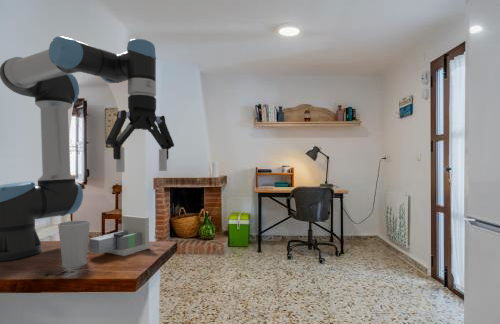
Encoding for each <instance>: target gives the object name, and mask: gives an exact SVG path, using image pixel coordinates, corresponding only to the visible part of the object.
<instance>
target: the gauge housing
mask: <svg viewBox="0 0 500 324" xmlns="http://www.w3.org/2000/svg"><path fill="white" fill-rule="evenodd" d="M121 220H122V221H121V222H122V223H121V225H122V226H121V227H122V229H121V231H116V232H112V233H110V234H116V233H118V234H123V237H117V249H114V250H111V251H107V252H106V253H107V254H113V255H118V256H122V257H125V256H128V255H132V254H135V253H138V252H141V251H145V250H147V249H150V223H149V222H150V221H149V220H150V218H149V217H147V216H146V217H145V216H136V215H127V214H124V215H122V216H121ZM108 234H109V233H107V234H103V235H102V236H104V235H108Z"/></svg>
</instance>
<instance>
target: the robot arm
mask: <svg viewBox="0 0 500 324" xmlns="http://www.w3.org/2000/svg"><path fill="white" fill-rule="evenodd" d="M48 46H49V47H48V49H46V50H42V51H40V52H38V53H37V52H36V53H34V54H31V55H28V56H25V57H21V56H13V57H11V58H9V59H7V60H5V61H3V62H2V63H1V65H0V80H1V82H2V83H3V85H5V87H7V88H8V89H9V90H11V91H12V92H13V93H16V94H17V95H21V96H25V97H30V98H34V105H36V106H37V107H38V108H39V109H40V133H41V134H40V137H41V163H42V164H41V165H42V166H41V167H42V171H41V172H42V174H41V176H40V177H39V178H38V179H37V184H35V182H34V181H32V180H31V181H21V182H13V183H11V182H10V183H6V184H1V185H0V262H5V261H6V262H7V261H13V260H21V259H24V258H29V257H31V256H34V255H37V254H39V253H41V252H42V242H41V240H40V237H39V235H38V233H37V231H36V220H39V219H46V218H54V217H64V216H67V215H72V214H74V213H76V212H77V211H78V210H79V208H80V207H81V205H82V203H83V200H84V199H83V198H84V190H83V188H82V186H81V184H80V183H78V182H76V177H74V175H72V174H71V161H70V160H71V159H70V158H71V157H70V154H71V153H70V152H71V151H70V132H69V131H70V129H69V127H70V126H69V125H70V123H69V110H70V109H71V108H73V104H75V103H76V102H77V101H78V98H79V96H80V85H79V82H78V79H77V78H76V76H75V75H74V74H75V73H83V74H88V75H91V76H96V77H100V78H101V79H102V80H103V81H105V82H106V83H108V84H120V83H124V82H126V81H127V95H128V97H127V105H128V106H127V108H128V111H126V110H125V109H122V110H118V111H117V112H116V113H117V115H116V120H115V121H114V123H113V125H112V128H111V130H110V132H109V134H108V136H107V137H106V140H105V144H106V145H109V146H110V147H111V148H112V149H113V150H112V151H113V152H112V153H113V155H112V156H113V157H112V158H113V159H114V160H115V162H116V165H115V167H116V168H115V170H116V171H115V172H116V173H125V146H124V147H123V146H122V145H124V143H125V142H126V141H127V139H128V138H130V136H131V134H133V132H134V131H135V130H143V131H148V132H150V134H151V136H153V138H154V139H155V141H156V142H157V144H158V146H159V147H160V149H158V166H159V167H158V171H160V172H166V171H168V161H167V160H169V150H170V149H171V148H174V147H175V142H174V141H173V138H172V136H171V134H170V131H169V128H168V125H167V123H166V117H165V115H159V116H157V115H156V110H157V98H155V97H156V96H157V82H156V80H157V79H156V78H157V76H156V75H157V73H156V71H157V70H156V69H157V68H156V67H157V66H156V65H157V64H156V63H157V62H156V61H157V56H156V47H155V46H156V45H154V43H153V42H152V41H149V40H146V39H142V38H132V39H130V40H128V41H127V47H126V51H125V52H122V53H114V52H111V51H108V50H105V49H102V48H99V47H96V46H93V45H90V44H86V43H84V42H81V41H78V40H76V39H74V38H69V37H65V36H61V35H59V36H55V37H54V38H53V39H52V41H51V42H50V44H49V45H48ZM127 119H128V120H129V122H128V124H127V125H126V127H125V128H124V129H123V127H124V124H125V122H126V120H127ZM122 129H123V131H122V132H121V130H122ZM120 132H121V133H120Z"/></svg>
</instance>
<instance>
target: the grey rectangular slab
mask: <svg viewBox="0 0 500 324" xmlns="http://www.w3.org/2000/svg"><path fill="white" fill-rule="evenodd" d="M107 234H108V235H106V234H103V235H104V236H103V235H99V236H96V237H90V238H88V248H89V252H90V253H94V254H98V255H99V254H104V253H107V251H111V250H114V249H117V237H123V234H118V233H116V234H111V233H107Z"/></svg>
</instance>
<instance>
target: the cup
mask: <svg viewBox="0 0 500 324" xmlns="http://www.w3.org/2000/svg"><path fill="white" fill-rule="evenodd" d="M90 225H91V223H90V220H86V219H84V220H83V219H82V220H69V221H64V222H59V223H58V224H57V226H58V234H59V235H58V236H59V244H60V253H61V267H62V268H64V269H69V268H70V269H71V268H72V269H73V268H78V267H81V266H85V265H87V263H88V248H89V237H90V235H89V234H90Z"/></svg>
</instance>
